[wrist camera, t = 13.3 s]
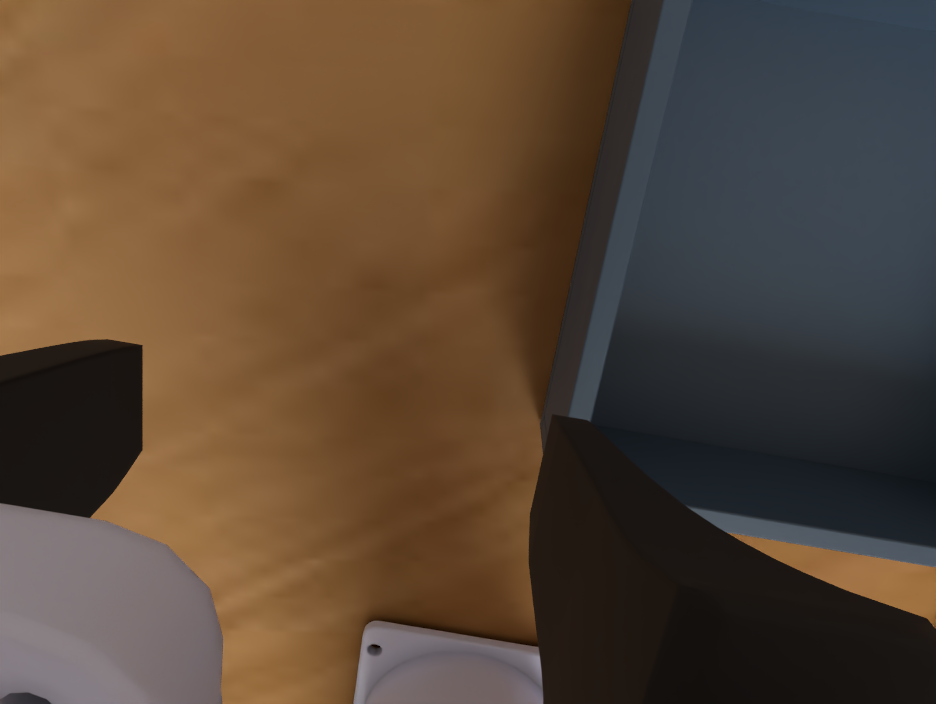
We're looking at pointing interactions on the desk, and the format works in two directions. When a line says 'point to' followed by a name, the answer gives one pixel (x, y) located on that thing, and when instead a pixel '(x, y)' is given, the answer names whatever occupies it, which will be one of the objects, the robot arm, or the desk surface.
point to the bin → (767, 269)
